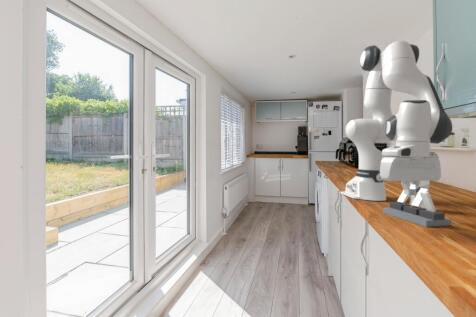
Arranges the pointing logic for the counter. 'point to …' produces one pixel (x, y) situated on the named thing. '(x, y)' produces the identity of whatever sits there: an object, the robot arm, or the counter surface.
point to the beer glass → (422, 185)
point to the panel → (417, 215)
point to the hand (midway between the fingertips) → (409, 194)
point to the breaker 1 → (403, 197)
